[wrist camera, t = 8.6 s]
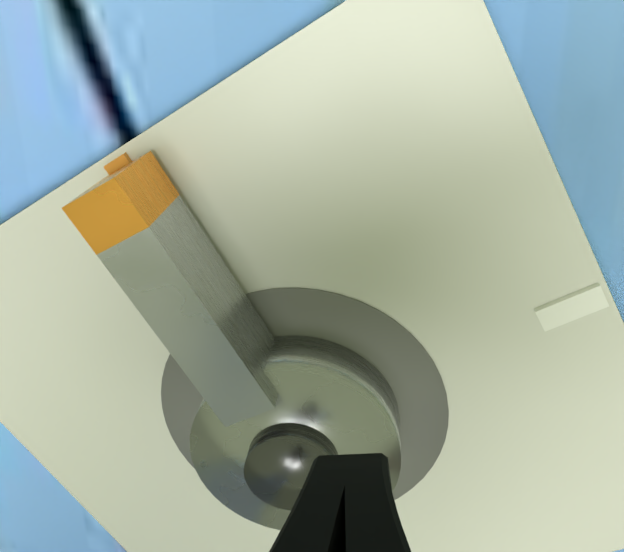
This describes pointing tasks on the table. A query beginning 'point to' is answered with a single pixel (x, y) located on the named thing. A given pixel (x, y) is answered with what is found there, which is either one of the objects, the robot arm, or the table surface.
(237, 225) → the panel
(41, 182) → the table surface
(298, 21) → the table surface
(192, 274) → the dial
